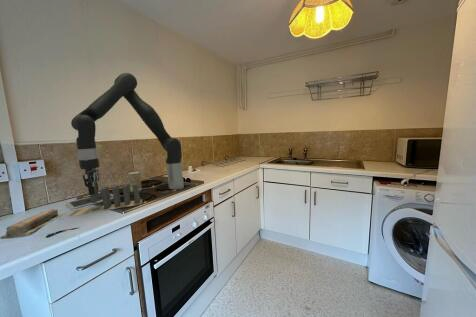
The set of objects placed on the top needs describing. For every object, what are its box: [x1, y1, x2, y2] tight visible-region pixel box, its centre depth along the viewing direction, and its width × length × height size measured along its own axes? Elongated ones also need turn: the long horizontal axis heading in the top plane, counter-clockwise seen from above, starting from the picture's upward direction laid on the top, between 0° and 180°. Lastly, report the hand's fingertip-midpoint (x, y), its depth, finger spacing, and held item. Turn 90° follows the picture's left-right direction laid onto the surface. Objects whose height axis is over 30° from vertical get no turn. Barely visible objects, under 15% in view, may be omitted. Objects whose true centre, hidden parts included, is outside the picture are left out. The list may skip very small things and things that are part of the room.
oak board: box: [68, 198, 143, 217], centre depth 96 cm, size 30×8×1 cm, turn 112°
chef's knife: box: [45, 227, 80, 238], centre depth 78 cm, size 19×1×3 cm
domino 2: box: [100, 186, 112, 209], centre depth 95 cm, size 2×5×10 cm, turn 21°
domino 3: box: [111, 184, 122, 207], centre depth 97 cm, size 2×5×10 cm, turn 22°
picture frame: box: [65, 191, 114, 211], centre depth 108 cm, size 16×3×21 cm
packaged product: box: [0, 208, 65, 239], centre depth 81 cm, size 18×5×10 cm
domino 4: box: [122, 183, 132, 207], centre depth 99 cm, size 2×5×10 cm, turn 22°
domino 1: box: [89, 180, 99, 204], centre depth 93 cm, size 2×5×10 cm, turn 22°
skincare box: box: [127, 171, 143, 193], centre depth 126 cm, size 6×4×12 cm
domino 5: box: [133, 183, 141, 205], centre depth 100 cm, size 2×5×10 cm, turn 22°
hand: (94, 192), depth 93 cm, fingers closed on domino 1, 5 cm apart
